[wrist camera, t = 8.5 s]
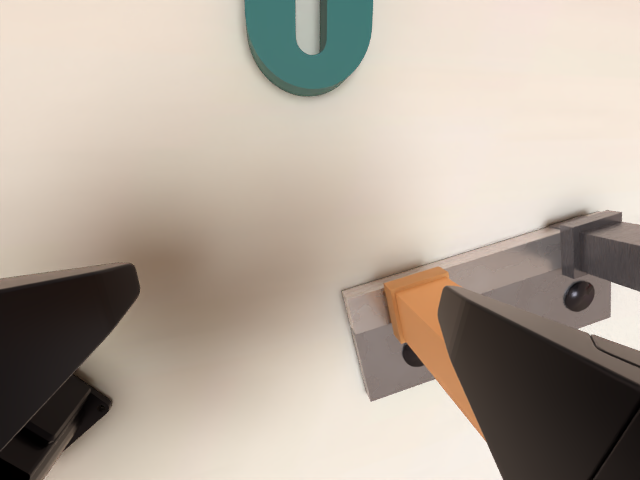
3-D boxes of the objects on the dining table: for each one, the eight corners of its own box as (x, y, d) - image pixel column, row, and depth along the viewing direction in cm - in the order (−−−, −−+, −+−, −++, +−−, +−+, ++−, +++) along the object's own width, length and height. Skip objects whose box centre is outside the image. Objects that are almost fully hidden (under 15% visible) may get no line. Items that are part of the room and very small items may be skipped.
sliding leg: (392, 333, 23) (493, 463, 13) (382, 282, 21) (483, 382, 12) (444, 316, 23) (580, 429, 13) (436, 265, 22) (578, 348, 12)
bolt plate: (366, 392, 26) (371, 403, 24) (350, 328, 24) (355, 336, 23) (598, 311, 28) (612, 318, 27) (598, 248, 26) (613, 251, 25)
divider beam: (351, 331, 24) (435, 486, 13) (339, 283, 23) (419, 405, 11) (598, 250, 26) (859, 319, 15) (598, 204, 25) (879, 239, 14)
